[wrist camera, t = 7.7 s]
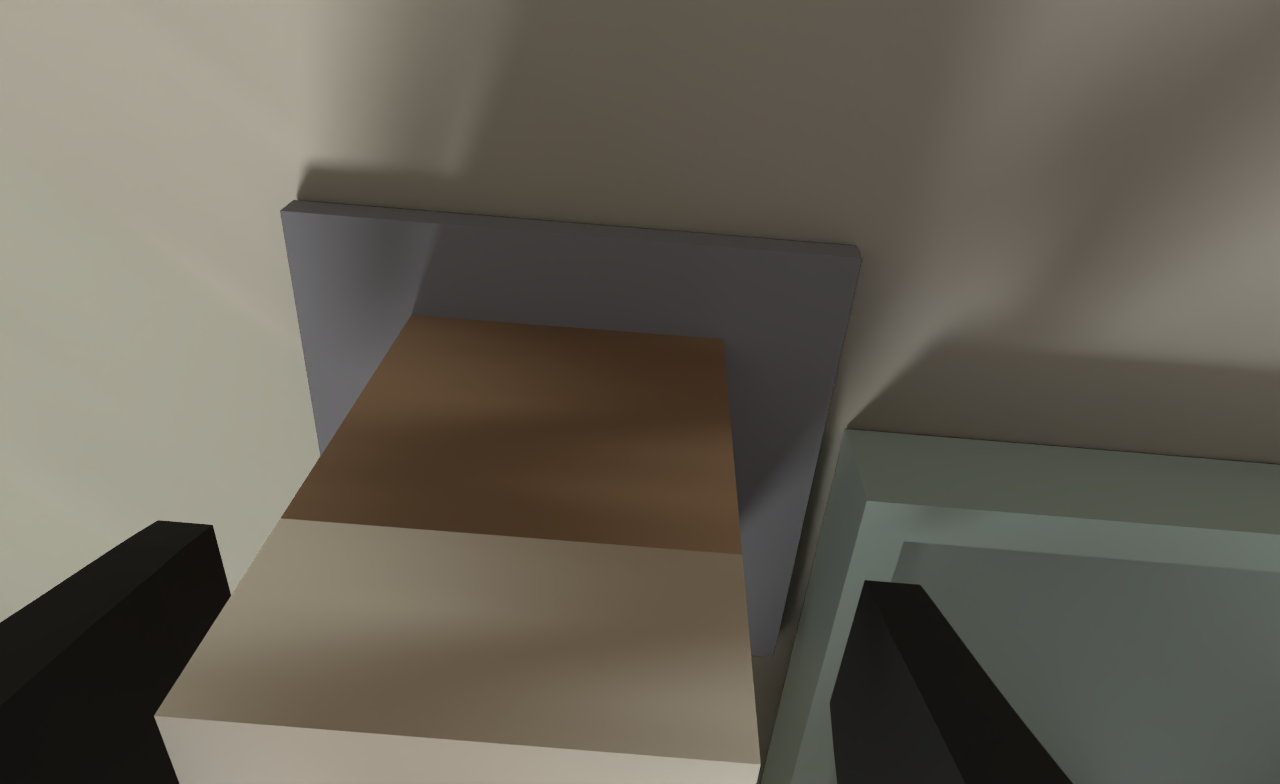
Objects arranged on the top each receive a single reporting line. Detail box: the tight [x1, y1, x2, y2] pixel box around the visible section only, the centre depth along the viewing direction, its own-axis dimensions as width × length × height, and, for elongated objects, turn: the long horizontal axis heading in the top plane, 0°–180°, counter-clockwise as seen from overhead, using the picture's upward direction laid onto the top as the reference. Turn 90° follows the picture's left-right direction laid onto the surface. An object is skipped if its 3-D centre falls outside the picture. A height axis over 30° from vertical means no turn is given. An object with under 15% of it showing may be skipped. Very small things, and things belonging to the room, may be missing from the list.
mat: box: [280, 200, 862, 658], centre depth 12 cm, size 7×7×1 cm
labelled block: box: [154, 315, 761, 784], centre depth 9 cm, size 4×4×6 cm
